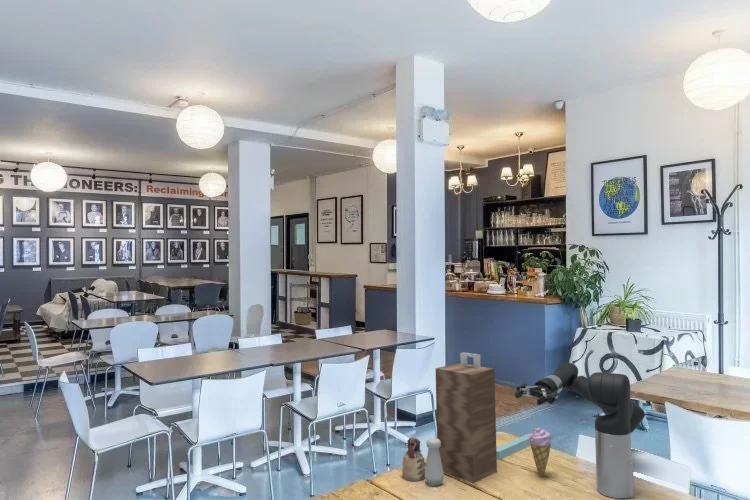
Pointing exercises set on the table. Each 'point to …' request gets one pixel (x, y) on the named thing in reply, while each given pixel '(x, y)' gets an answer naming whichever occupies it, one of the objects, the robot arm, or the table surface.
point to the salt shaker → (434, 463)
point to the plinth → (466, 421)
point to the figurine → (413, 462)
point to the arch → (475, 358)
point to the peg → (512, 446)
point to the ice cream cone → (540, 449)
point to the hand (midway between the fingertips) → (527, 398)
